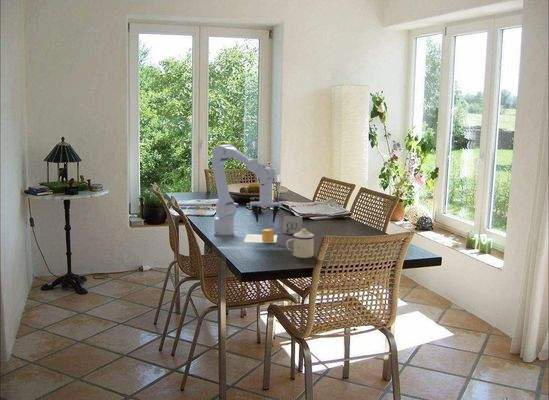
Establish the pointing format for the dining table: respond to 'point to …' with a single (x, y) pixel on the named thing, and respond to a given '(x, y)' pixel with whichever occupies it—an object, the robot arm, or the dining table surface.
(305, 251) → the teacup with lid
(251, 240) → the cover plate
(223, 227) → the robot arm
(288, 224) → the electrical switch
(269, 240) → the orange cube
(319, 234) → the dining table surface
